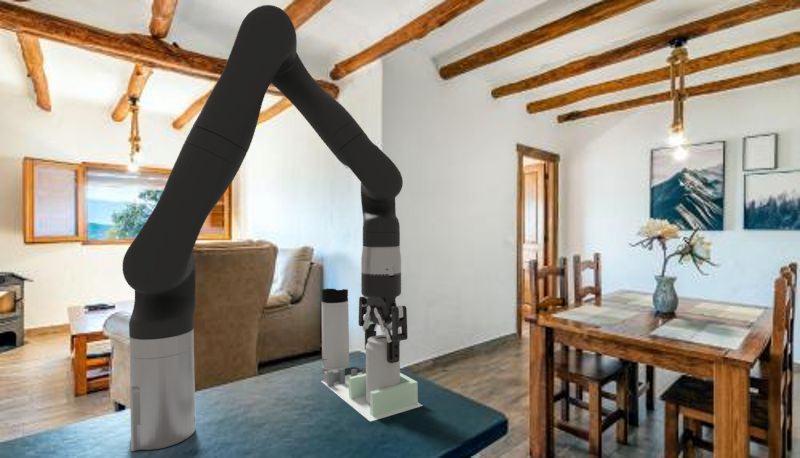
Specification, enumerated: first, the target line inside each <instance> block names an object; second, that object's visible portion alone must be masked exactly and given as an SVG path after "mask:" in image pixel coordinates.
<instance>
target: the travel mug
mask: <svg viewBox="0 0 800 458" xmlns="http://www.w3.org/2000/svg"><path fill="white" fill-rule="evenodd" d="M349 317H350V316H349V289H347V288H342V289H336V288H323V289H321V342H322V343H321V347H322V348H321V356H322V359H321V360H322V362H321V363H322V373H323V372H324V371H329V370H334V369H337V370H339V368H344V369H345V370H347V369H348V370H349V369H350V336H349V335H350V332H349V331H350V329H349V328H350V327H349V326H350V325H349V321H350V320H349Z"/></svg>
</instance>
